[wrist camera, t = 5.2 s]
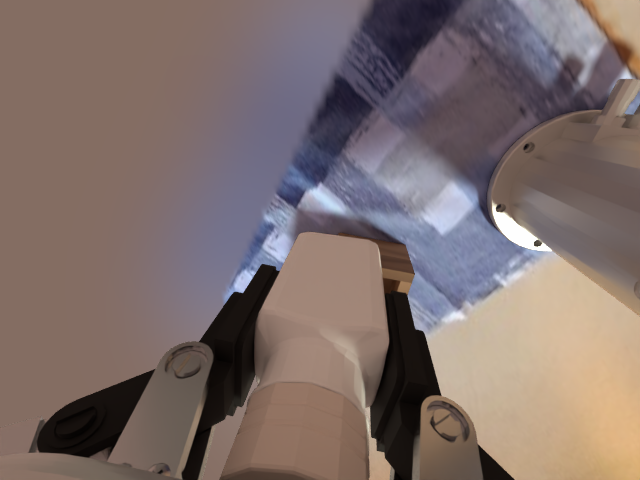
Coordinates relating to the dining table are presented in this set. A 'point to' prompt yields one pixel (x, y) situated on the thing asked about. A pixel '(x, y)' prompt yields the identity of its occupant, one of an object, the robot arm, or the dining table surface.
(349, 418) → the pepper shaker
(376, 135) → the dining table surface
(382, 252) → the wooden open box
